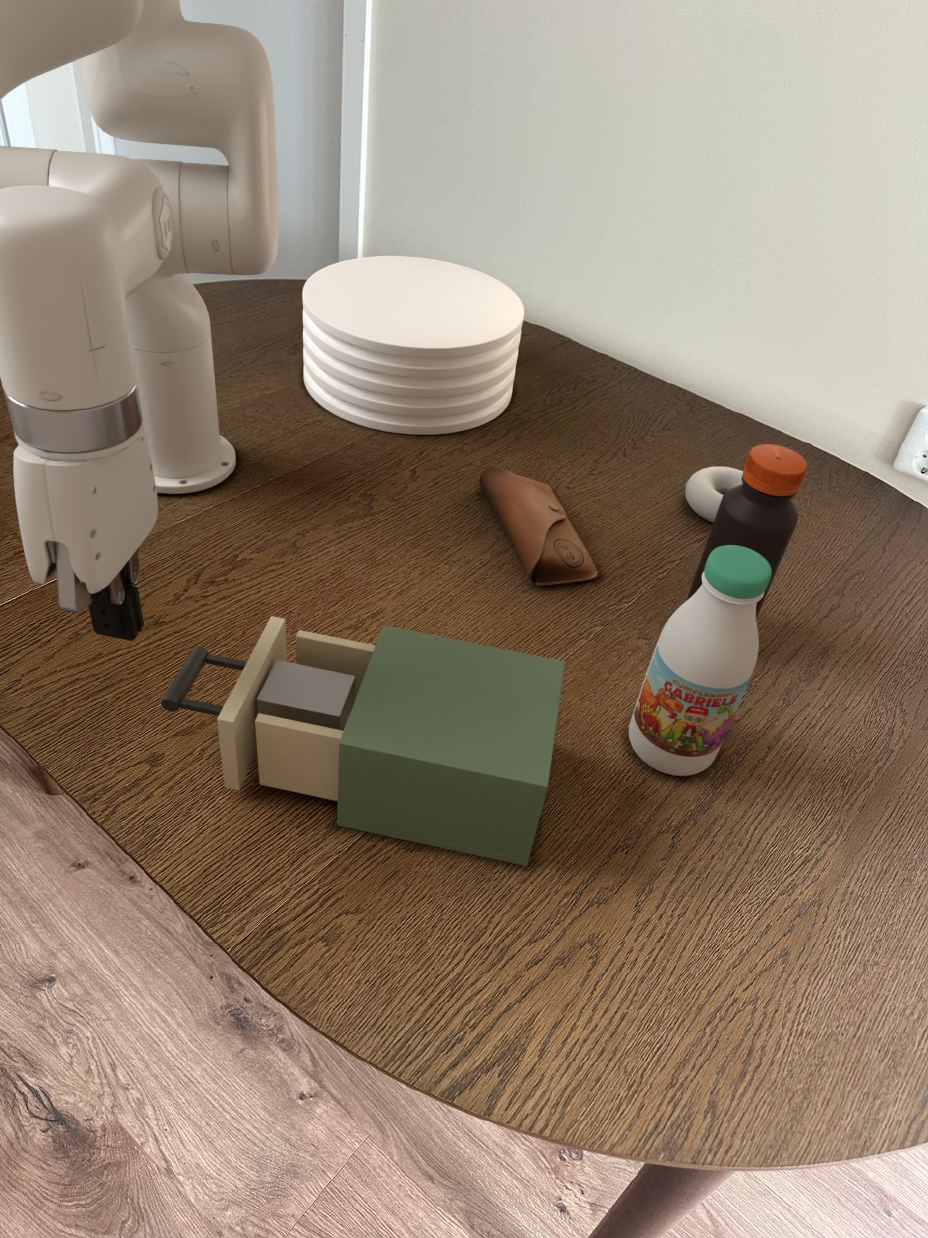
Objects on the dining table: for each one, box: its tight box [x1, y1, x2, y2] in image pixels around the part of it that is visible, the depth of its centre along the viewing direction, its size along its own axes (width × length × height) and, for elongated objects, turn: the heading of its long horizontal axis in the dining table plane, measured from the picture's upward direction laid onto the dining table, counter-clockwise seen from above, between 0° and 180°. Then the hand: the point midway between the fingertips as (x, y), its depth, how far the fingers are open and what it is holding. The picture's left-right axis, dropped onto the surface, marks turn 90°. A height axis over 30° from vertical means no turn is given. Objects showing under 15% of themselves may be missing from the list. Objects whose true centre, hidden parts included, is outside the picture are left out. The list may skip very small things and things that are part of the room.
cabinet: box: [336, 625, 566, 867], centre depth 70 cm, size 15×13×10 cm
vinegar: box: [685, 443, 809, 620], centre depth 84 cm, size 7×7×20 cm
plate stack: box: [302, 255, 525, 436], centre depth 119 cm, size 28×28×12 cm
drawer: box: [160, 615, 376, 802], centre depth 71 cm, size 19×11×8 cm, turn 80°
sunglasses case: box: [478, 464, 599, 587], centre depth 99 cm, size 18×7×7 cm
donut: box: [684, 466, 743, 524], centre depth 106 cm, size 10×3×10 cm
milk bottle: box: [628, 545, 772, 777], centre depth 72 cm, size 8×8×20 cm
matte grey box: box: [257, 660, 356, 731], centre depth 71 cm, size 6×4×6 cm
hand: (119, 630), depth 68 cm, fingers closed
